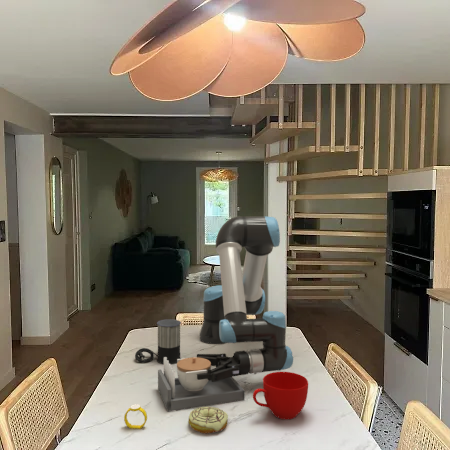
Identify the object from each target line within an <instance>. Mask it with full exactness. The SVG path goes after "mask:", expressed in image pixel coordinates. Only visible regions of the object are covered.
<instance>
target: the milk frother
mask: <svg viewBox="0 0 450 450" xmlns="http://www.w3.org/2000/svg"><path fill="white" fill-rule="evenodd" d="M181 324H182V321H180V320H177V319H172V318H171V319H170V318H169V319H167V318H166V319H161V320H158V321H157V322H156V325H157V354H156V353H155V352H154V351H153V350H151V349H149V348H145V347H144V348H139V349H138V350H137V351H136V352H135V353H134V358H135V360H136V361H138V362H140V363H148V362H151V361H152V360H153V359H154V356H156V357H157V358H156V361H157V362H158V363H159V364H163V365H164V357H167V360H168V361H169V364H171V365H172V364H173V365H174V364H177V359H182V357H181ZM143 353H147V354H149V356H150V357H148V358H145V357H146V356H145V355H144V354H143Z"/></svg>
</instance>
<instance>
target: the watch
mask: <svg viewBox="0 0 450 450" xmlns="http://www.w3.org/2000/svg"><path fill="white" fill-rule="evenodd" d="M130 411H131V412H138V411H139V412H140V413H142V415H143V416H144V422H143V423H141V425H138V424H137V425H136V424H131V423H130V422H129V419H128V413H129V412H130ZM123 418H124V419H123V421H124V423H125V425H126V426H127V428H128V429H133V430H134V429H135V430H136V429H137V430H138V429H140V430H141V429H142V428H144V427H145V425H146V422H147V420H148V415H147V412H146V410H145V409H144V408H143V407H141V404H138V403H136V404H132V405H130V407H129V408H128V409H127V411H125V413H124V417H123Z"/></svg>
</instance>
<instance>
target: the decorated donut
mask: <svg viewBox="0 0 450 450" xmlns="http://www.w3.org/2000/svg"><path fill="white" fill-rule="evenodd" d="M228 419H229V415H228V413H227V412H226V411H225V410H223V409H221V408H219V407H217V406H216V407H213V406H202V407H196V408H193V410H191V411H190V412H189V416H188V421H187V422H188V424H189V426H190V427H191V429H193V431H195V432H198V433H201V434H205V435H207V434H213V433H217V432H221V431H223V430H224V429H226V428H227V426H228Z"/></svg>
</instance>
